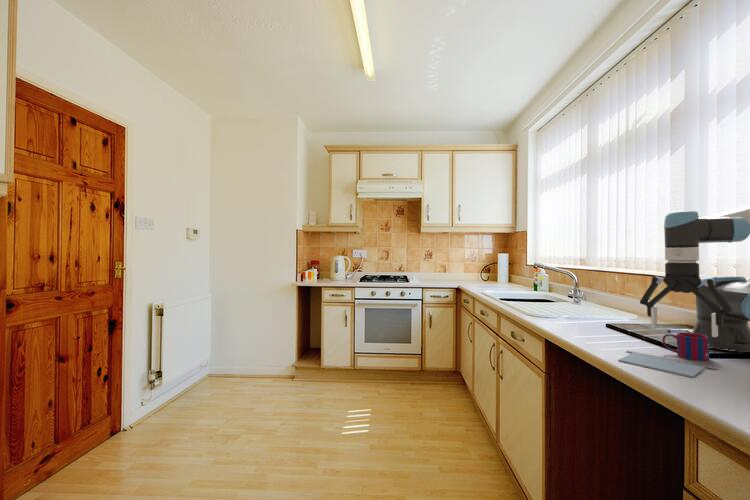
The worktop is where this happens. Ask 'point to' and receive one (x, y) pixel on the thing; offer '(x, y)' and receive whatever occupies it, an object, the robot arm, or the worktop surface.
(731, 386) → the worktop surface
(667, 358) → the line strip
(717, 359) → the worktop surface
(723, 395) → the worktop surface
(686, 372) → the mat
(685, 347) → the mug
